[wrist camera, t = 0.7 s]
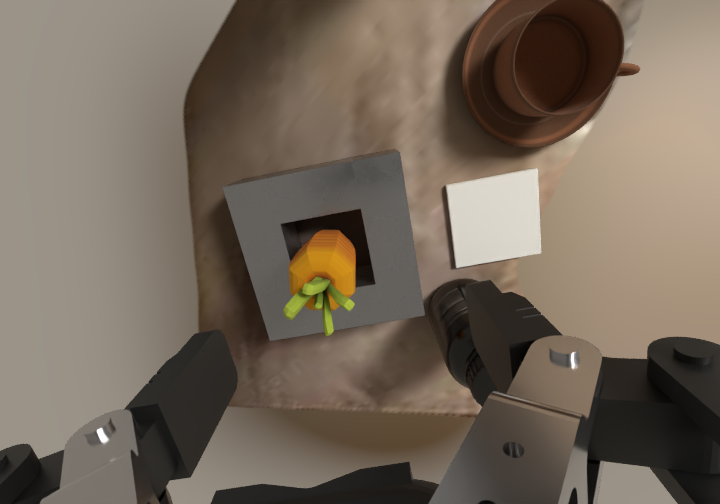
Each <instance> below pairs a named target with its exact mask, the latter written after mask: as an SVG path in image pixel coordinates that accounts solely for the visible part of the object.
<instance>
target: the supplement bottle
mask: <svg viewBox="0 0 720 504" xmlns="http://www.w3.org/2000/svg"><path fill="white" fill-rule="evenodd" d="M476 282H479V281H476V280H473V279H457V280H453V281H450V282H448V283H446V284H445V285H443V286H442V287H440V288H439V289H438V290H437V291H436V293H435V294H434V295H433V297H432V299H431V302H430V305H429V318H430V322H431V325H432V328H433V330H434V333H435V336H436V339H437V341H438V344H439V347H440V350H441V352H442V355H443V358H444V360H445V363H446V366H447V368H448V370H449V372H450V374H451V375H452V376H453V378H454V379H455V380H456V381H457V382H459V383H460V384H461V385H463V386H464V387H466V388H469V389H470V391H471V393H472V395H473V397H474V399H475V400H476V402H477V403H479V404H480V405H481V406H482V407H483V405H484V403H485V401H486V400H487V398H488V396H489V395H490V394H491V392H493V391H498V390H497V388H496V386H495V385H494V383H493V381H492V379H491V377H490V375H489V373H488V371H487V369H486V367H485V365H484V363H483V362H482V360H481V358H480V356H479V354H478V352H477V350H476V348H475V345H474V342H473V339H472V335H471V330H470V323H469V315H468V308H467V300H466V293H465V285H466V284H470V283H476Z"/></svg>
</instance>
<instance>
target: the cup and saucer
mask: <svg viewBox="0 0 720 504" xmlns="http://www.w3.org/2000/svg"><path fill="white" fill-rule="evenodd" d="M623 54H624V34H623V29H622V26H621V23H620V21H619V18H618V17H617V15H616V13H615V12H614V11H613V9H612V8H611V7H610V6H609V5H608V4H607V3H605V2H604V1H603V0H496V1H495V2H494V3H493V4H492V5H491V6H490V7H489V8H488V9H487V10H486V12H485V13H484V14H483V15H482V17H481V18H480V20H479V21H478V23H477V24H476V26H475V28H474V30H473V32H472V34H471V36H470V38H469V41H468V44H467V47H466V50H465V54H464V59H463V66H462V85H463V92H464V97H465V100H466V103H467V106H468V108H469V110H470V112H471V114H472V116H473V117H474V119H475V120H476V122H477V123H478V124H479V125H480V126H481V128H482V129H483V130H485V131H486V132H487V133H488V134H489V135H491V136H492V137H494V138H495V139H497V140H499V141H501V142H503V143H506V144H509V145H512V146H517V147H541V146H545V145H549V144H553V143H555V142H558V141H560V140H562V139H564V138H566V137H568V136H570V135H571V134H573V133H575V132H576V131H577V130H579V129H580V128H581V127H582V126H584V125H585V124H586V123H587V122H588V121H589V120H590V119H591V118H592V117H593V116H594V114H595V113H596V112H597V111H598V110H599V108H600V107H601V105H602V104H603V102H604V100H605V99H606V97H607V95H608V93H609V91H610V89H611V87H612V84H613V81H614V80H615V78H616V76H628V75H633V74H636V73H638V72H639V70H640V67H639V66H637V65H634V64H629V63H622V59H623Z"/></svg>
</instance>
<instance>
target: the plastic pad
mask: <svg viewBox="0 0 720 504" xmlns="http://www.w3.org/2000/svg"><path fill="white" fill-rule="evenodd" d="M446 193H447V202H448V210H449V218H450V226H451V235H452V243H453V251H454V259H455V266H456V268H459V267H465V266H471V265H476V264H482V263H488V262H494V261H500V260H505V259H511V258H517V257H523V256H528V255H534V254H539V253H541V236H540V212H539V189H538V168H532V169H527V170H521V171H516V172H511V173H506V174H500V175H495V176H490V177H485V178H479V179H474V180H469V181H464V182H458V183H453V184H448V185H446Z"/></svg>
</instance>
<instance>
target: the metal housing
mask: <svg viewBox="0 0 720 504" xmlns="http://www.w3.org/2000/svg"><path fill="white" fill-rule="evenodd" d="M222 188H223V191H224V194H225V197H226V200H227V204H228V207H229V210H230V213H231V217H232V220H233V223H234V226H235V229H236V233H237V236H238V239H239V242H240V246H241V249H242V252H243V255H244V259H245V262H246V265H247V268H248V271H249V275H250V278H251V281H252V284H253V288H254V291H255V294H256V297H257V300H258V304H259V307H260V310H261V313H262V317H263V320H264V323H265V326H266V329H267V333H268V336H269V339H270V341H273V340H279V339H285V338H292V337H298V336H304V335H310V334H316V333H322V332H324V328H323V319H322V310H309V309H308V308H306V307H305V306H303V307H302V309H301V310H300V311H299V312H298V314H297V315H296V316H295V317H294V318H293V320H290V319H287V318H286V317H285V315H284V314H283V310H284V308H285V306H286V304H287V303H288V302H289V301H290V300H291V299H292V297H293V295H292V294H291V293H290V283H289V264H290V262H291V261H292V259H293V258H294V256H295V255H296V253H297V252H298V251H299V250H300V248H301V243H300V239H299V236H298V232H297V228H296V224H295V221H298V220H303V219H309V218H314V217H319V216H325V215H330V214H335V213H340V212H346V211H351V210H356V209H361V212H362V217H363V222H364V227H365V232H366V237H367V243H368V248H369V253H370V258H371V263H372V264H370V265H365V266H359V267H356V272H355V293H354V294H353V295H352V296H350V297H349V299H350V300H352V301H353V302H354V304H355V305H354V307H353V308H352V309H351V310H350V311H348V310H346V309H344V308H342V307H341V306H339V307H338V308H337V309H336V310H331V316H332V322H333V329H334V330H340V329H346V328H352V327H358V326H364V325H370V324H377V323H383V322H389V321H395V320H401V319H407V318H413V317H419V316H425V311H424V305H423V298H422V292H421V286H420V279H419V273H418V266H417V260H416V253H415V247H414V241H413V234H412V228H411V221H410V215H409V208H408V202H407V196H406V189H405V183H404V176H403V170H402V163H401V157H400V152H399V151H397V150H396V149H391V150H386V151H381V152H376V153H371V154H366V155H361V156H356V157H351V158H346V159H341V160H336V161H331V162H326V163H321V164H316V165H311V166H306V167H301V168H296V169H291V170H286V171H281V172H276V173H271V174H266V175H261V176H256V177H251V178H246V179H242V180H239V181H237V182H234V183H232V184H229V185H227V186H224V187H222Z"/></svg>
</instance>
